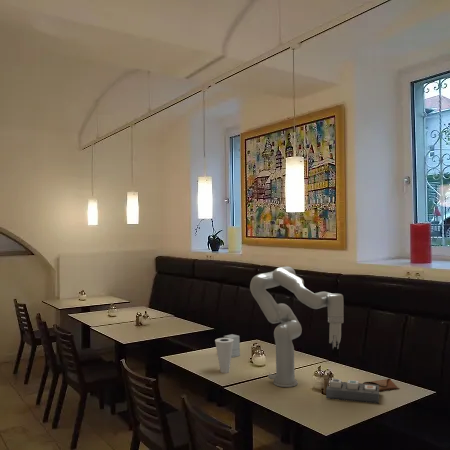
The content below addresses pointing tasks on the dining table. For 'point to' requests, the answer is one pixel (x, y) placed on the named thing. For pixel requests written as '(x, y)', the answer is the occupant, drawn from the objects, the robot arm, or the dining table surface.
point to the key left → (336, 383)
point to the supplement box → (234, 345)
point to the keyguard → (353, 393)
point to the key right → (370, 388)
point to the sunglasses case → (384, 385)
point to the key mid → (352, 384)
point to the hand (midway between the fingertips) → (335, 356)
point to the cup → (224, 353)
